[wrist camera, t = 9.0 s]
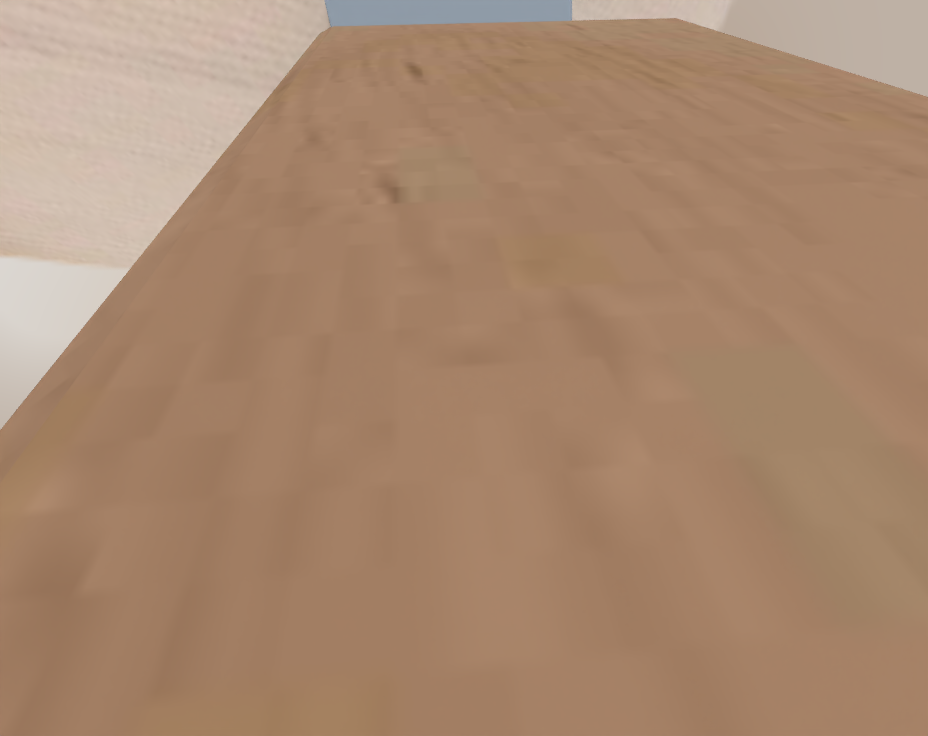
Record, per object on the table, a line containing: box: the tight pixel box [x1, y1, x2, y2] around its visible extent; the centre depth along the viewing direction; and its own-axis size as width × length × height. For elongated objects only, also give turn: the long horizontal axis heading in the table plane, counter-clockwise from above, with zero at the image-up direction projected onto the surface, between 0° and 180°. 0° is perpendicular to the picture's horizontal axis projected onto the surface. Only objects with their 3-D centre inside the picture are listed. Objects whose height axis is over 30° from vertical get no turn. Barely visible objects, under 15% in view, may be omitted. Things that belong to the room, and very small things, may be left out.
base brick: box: [325, 0, 572, 27], centre depth 30 cm, size 12×12×4 cm
